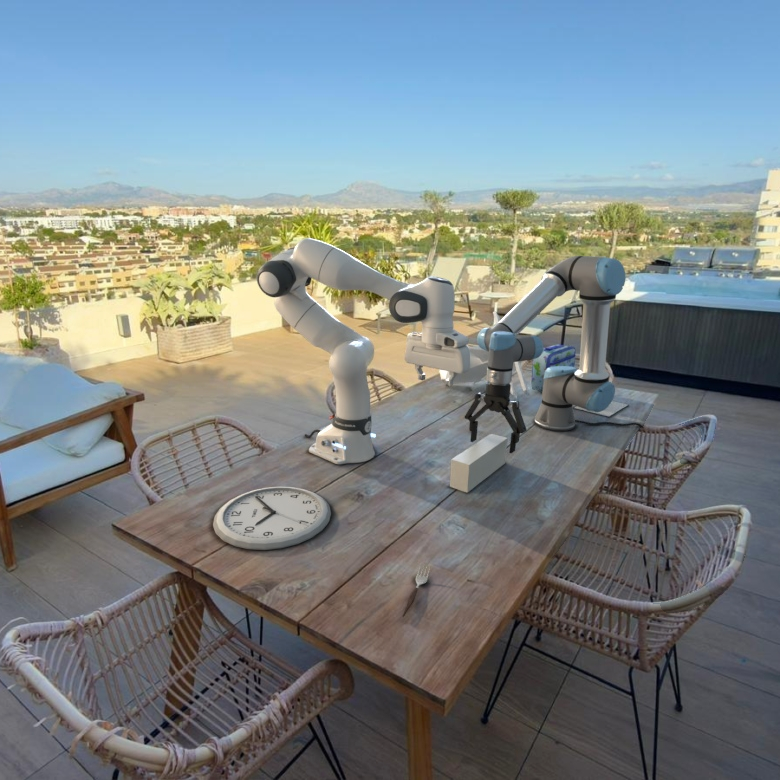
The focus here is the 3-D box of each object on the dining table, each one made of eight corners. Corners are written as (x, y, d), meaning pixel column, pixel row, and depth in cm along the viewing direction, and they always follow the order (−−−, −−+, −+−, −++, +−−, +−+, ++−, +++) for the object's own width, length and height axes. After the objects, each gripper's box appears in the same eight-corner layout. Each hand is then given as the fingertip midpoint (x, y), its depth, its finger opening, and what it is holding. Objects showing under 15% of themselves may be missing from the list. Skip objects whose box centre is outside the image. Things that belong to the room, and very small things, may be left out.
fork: (396, 617, 102) (396, 608, 101) (420, 569, 116) (420, 561, 116) (409, 620, 101) (409, 612, 101) (431, 572, 116) (431, 564, 115)
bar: (488, 458, 174) (490, 433, 171) (505, 463, 170) (507, 437, 168) (449, 486, 154) (451, 459, 152) (467, 492, 151) (469, 464, 148)
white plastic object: (461, 429, 252) (437, 405, 227) (444, 352, 274) (420, 323, 250) (535, 404, 240) (518, 377, 215) (510, 326, 262) (492, 293, 237)
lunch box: (547, 397, 237) (552, 352, 231) (526, 391, 245) (531, 348, 238) (574, 386, 255) (580, 344, 249) (554, 381, 262) (559, 340, 256)
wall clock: (329, 541, 123) (198, 546, 121) (329, 547, 124) (199, 552, 121) (332, 482, 152) (226, 484, 149) (332, 487, 152) (226, 489, 150)
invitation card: (608, 416, 214) (573, 407, 224) (608, 416, 214) (573, 408, 224) (628, 404, 229) (594, 396, 238) (628, 405, 229) (594, 397, 238)
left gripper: (400, 332, 151) (399, 378, 155) (463, 342, 140) (460, 391, 144) (413, 329, 156) (411, 374, 160) (474, 339, 145) (471, 386, 149)
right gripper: (457, 377, 165) (452, 439, 171) (532, 393, 151) (524, 460, 157) (468, 372, 171) (463, 433, 177) (542, 387, 157) (534, 453, 163)
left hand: (435, 382), depth 152 cm, fingers open, 8 cm apart
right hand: (492, 446), depth 167 cm, fingers open, 13 cm apart
